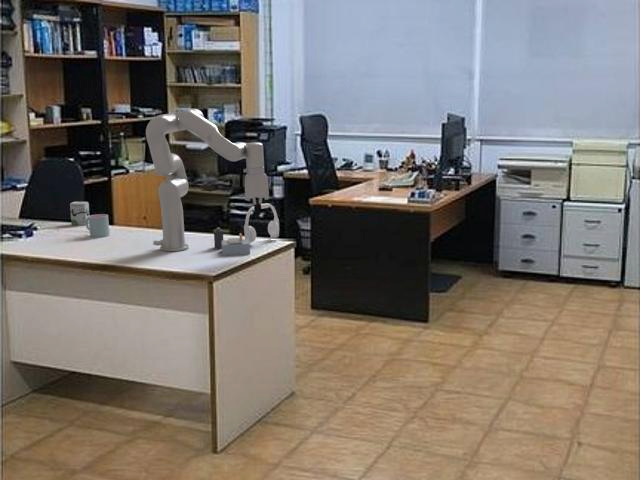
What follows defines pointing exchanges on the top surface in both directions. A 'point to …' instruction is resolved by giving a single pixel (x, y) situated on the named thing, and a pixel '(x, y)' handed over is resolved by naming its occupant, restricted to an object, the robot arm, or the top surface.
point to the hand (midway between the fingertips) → (257, 213)
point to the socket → (235, 248)
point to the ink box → (79, 213)
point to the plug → (218, 238)
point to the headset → (272, 226)
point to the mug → (98, 225)
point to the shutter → (235, 240)
